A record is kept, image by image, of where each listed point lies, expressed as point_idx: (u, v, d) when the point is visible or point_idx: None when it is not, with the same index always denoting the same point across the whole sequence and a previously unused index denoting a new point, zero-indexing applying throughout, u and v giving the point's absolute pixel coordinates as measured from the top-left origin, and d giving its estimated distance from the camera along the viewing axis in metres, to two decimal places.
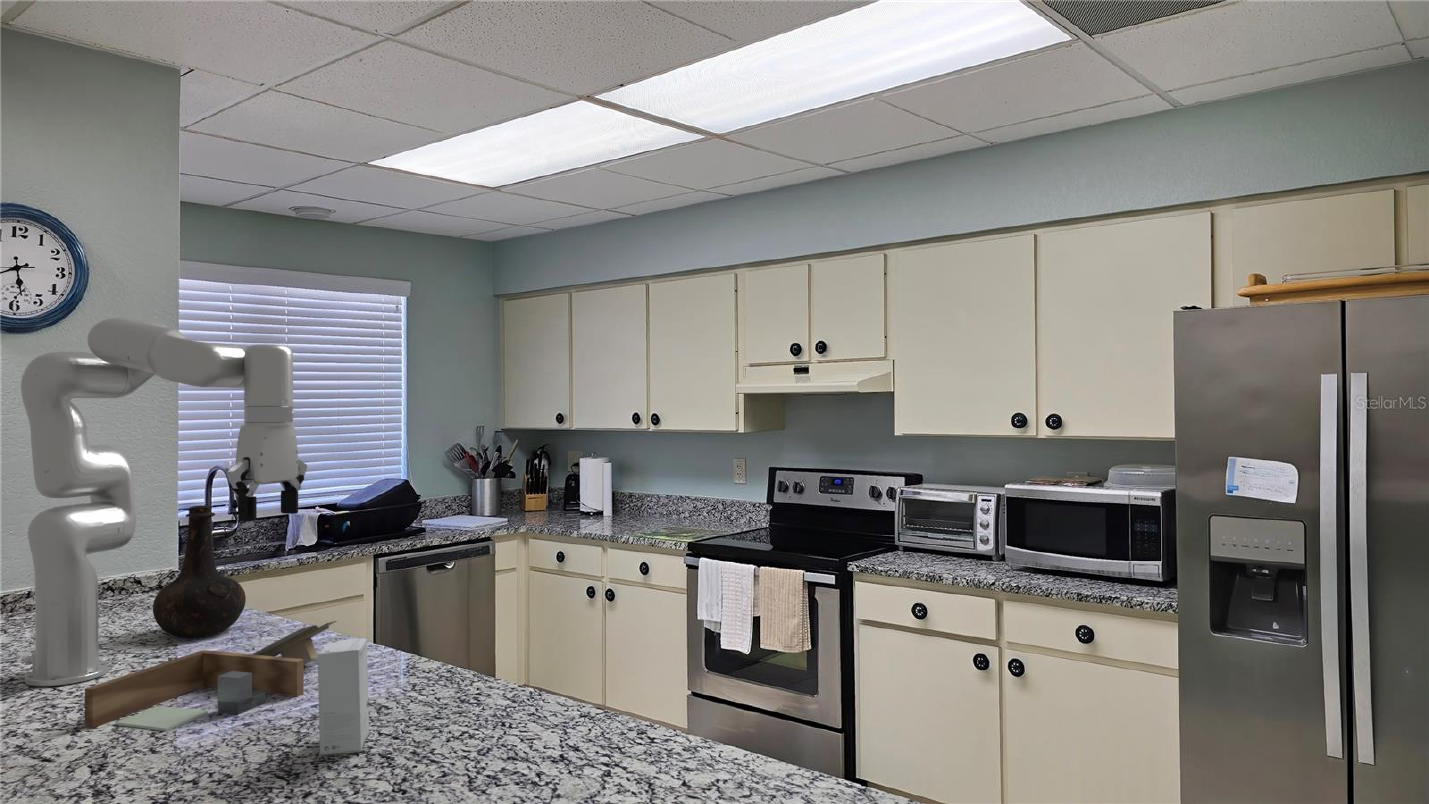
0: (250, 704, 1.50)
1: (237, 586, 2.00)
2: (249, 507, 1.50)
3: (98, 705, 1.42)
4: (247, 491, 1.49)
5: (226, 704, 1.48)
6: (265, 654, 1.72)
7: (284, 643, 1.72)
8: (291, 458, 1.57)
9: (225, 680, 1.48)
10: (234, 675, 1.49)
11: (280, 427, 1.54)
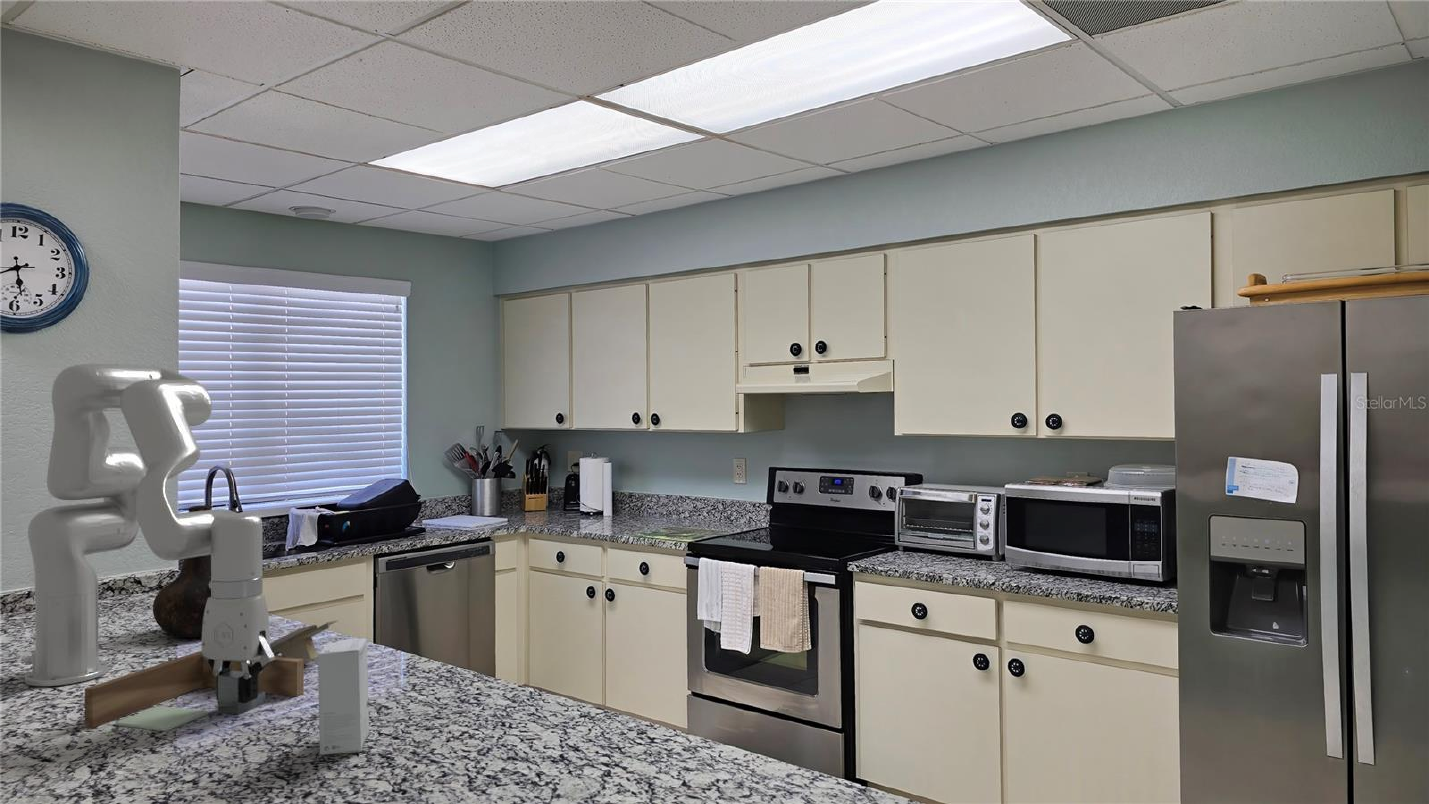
0: (250, 704, 1.50)
1: None
2: None
3: (98, 705, 1.42)
4: (260, 671, 1.50)
5: (226, 704, 1.48)
6: None
7: (284, 642, 1.73)
8: None
9: (225, 679, 1.48)
10: (234, 675, 1.49)
11: None
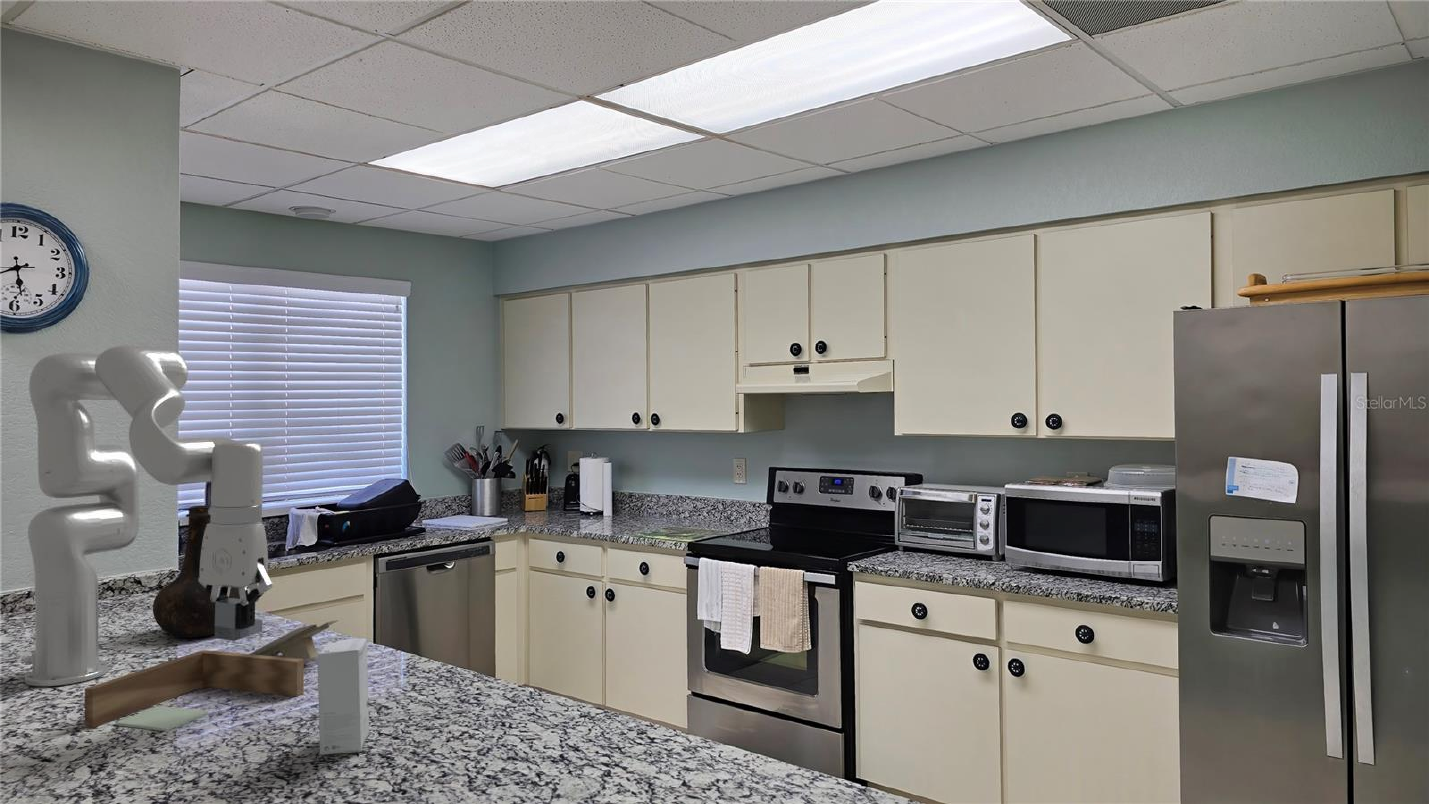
0: (247, 631, 1.50)
1: None
2: None
3: (98, 705, 1.42)
4: None
5: (223, 630, 1.48)
6: (266, 652, 1.73)
7: (284, 642, 1.73)
8: None
9: (222, 605, 1.48)
10: (232, 601, 1.49)
11: None
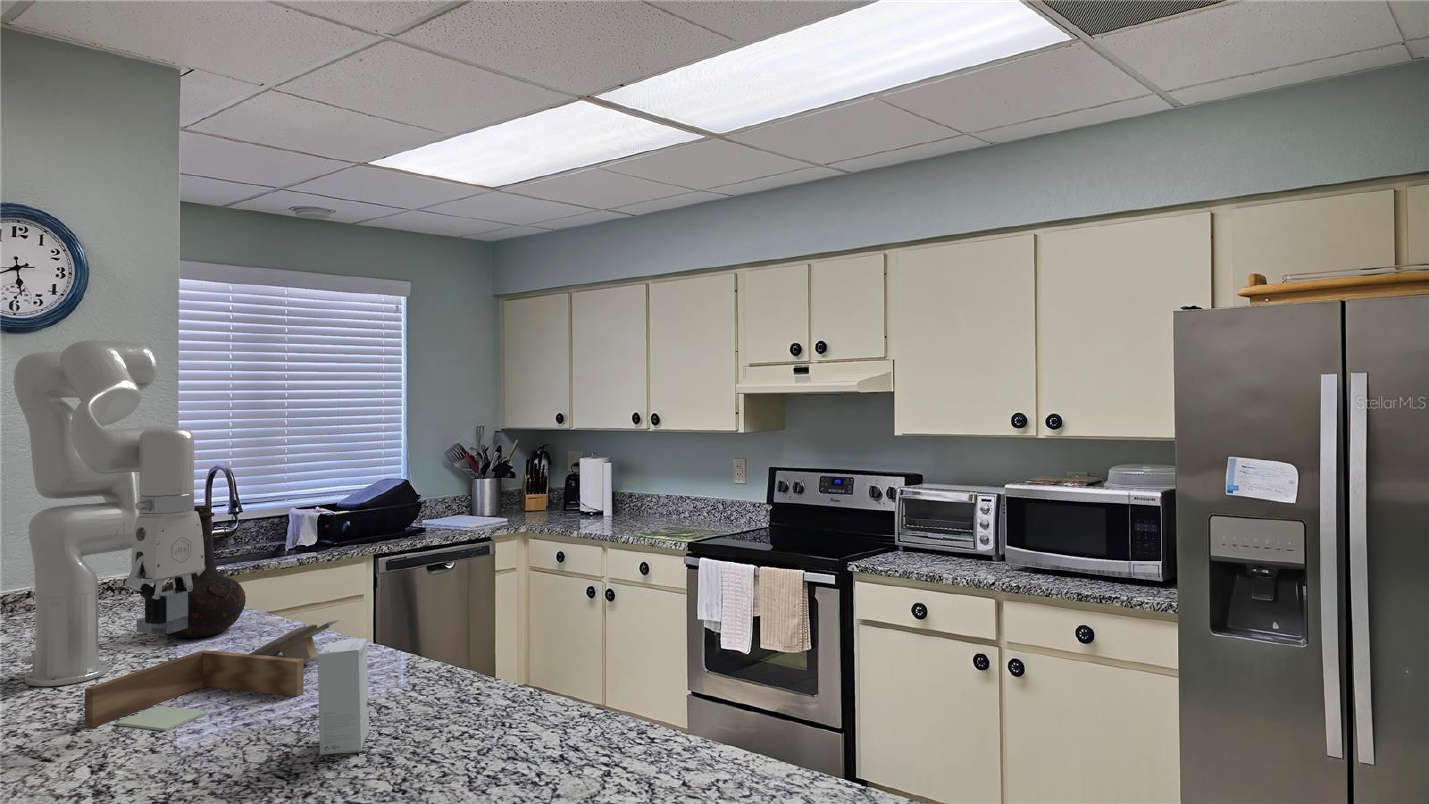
0: None
1: (237, 586, 2.00)
2: None
3: (98, 705, 1.42)
4: None
5: (176, 621, 1.44)
6: (266, 652, 1.73)
7: (284, 642, 1.73)
8: None
9: (174, 597, 1.44)
10: (173, 592, 1.45)
11: None
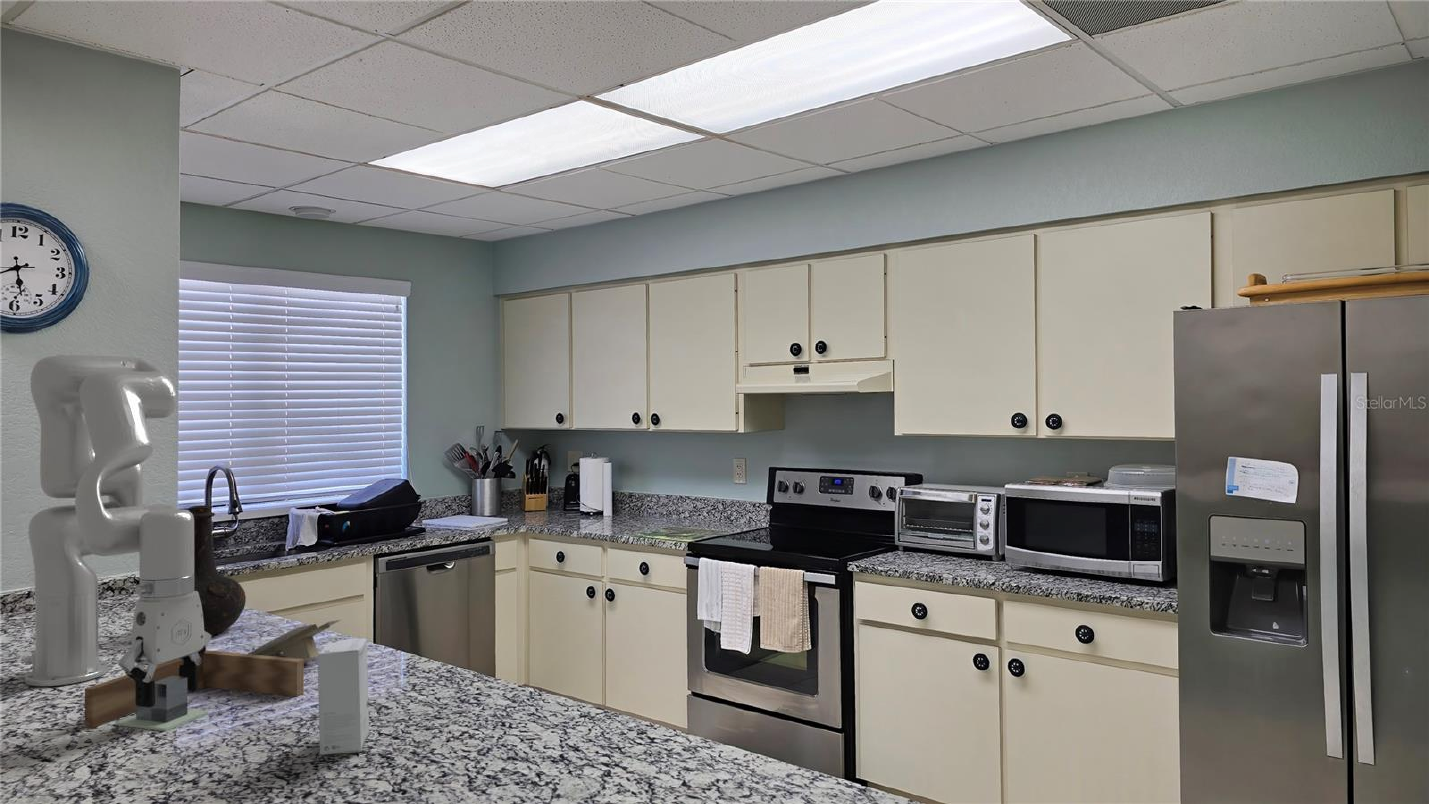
0: None
1: (237, 586, 2.00)
2: None
3: (98, 705, 1.42)
4: None
5: (175, 709, 1.44)
6: (267, 651, 1.74)
7: (285, 641, 1.74)
8: None
9: (174, 685, 1.44)
10: (173, 679, 1.45)
11: None
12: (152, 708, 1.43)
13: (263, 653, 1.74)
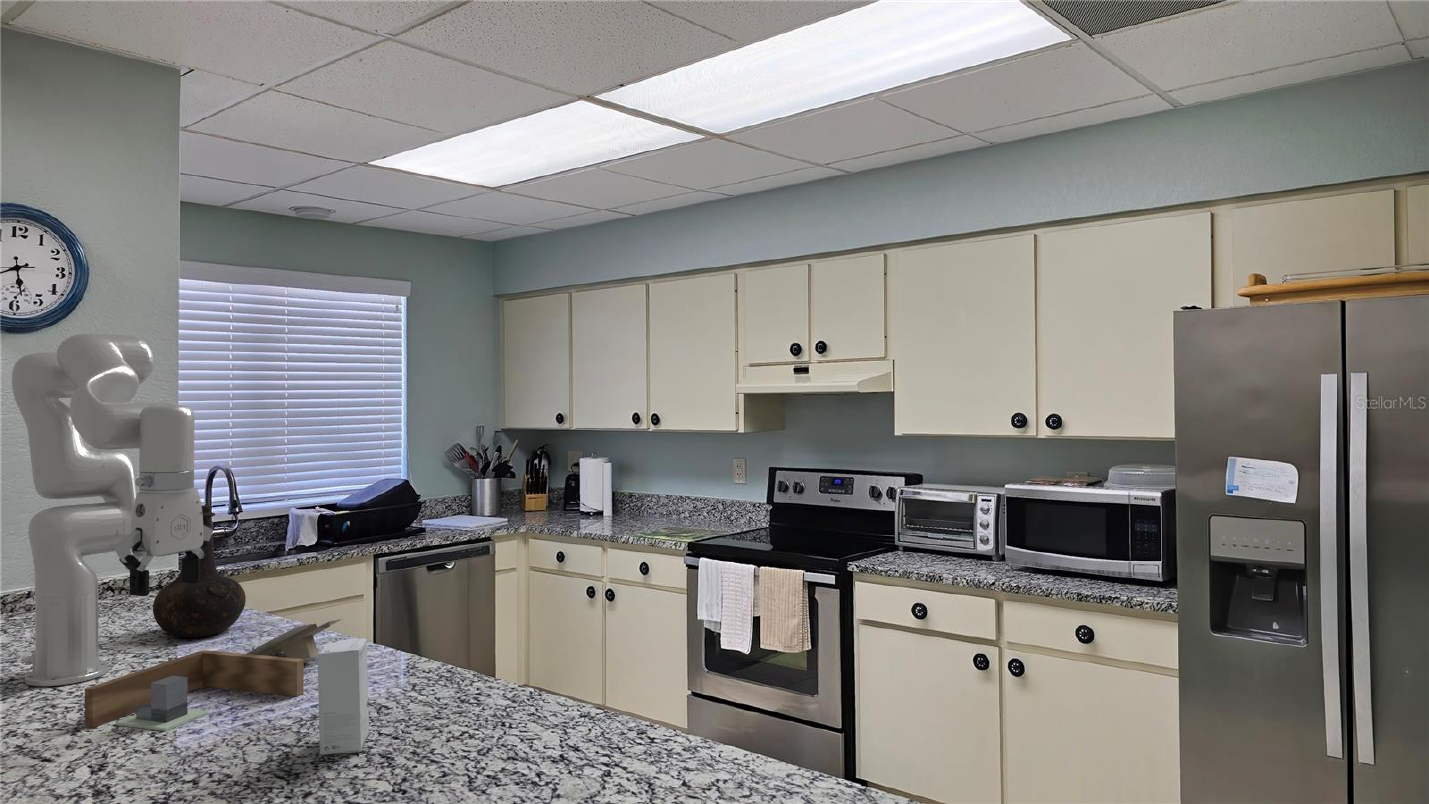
0: None
1: (237, 586, 2.00)
2: None
3: (98, 705, 1.42)
4: None
5: (175, 709, 1.44)
6: (267, 651, 1.74)
7: (285, 640, 1.74)
8: None
9: (174, 685, 1.44)
10: (173, 679, 1.45)
11: None
12: (152, 708, 1.43)
13: (264, 652, 1.74)
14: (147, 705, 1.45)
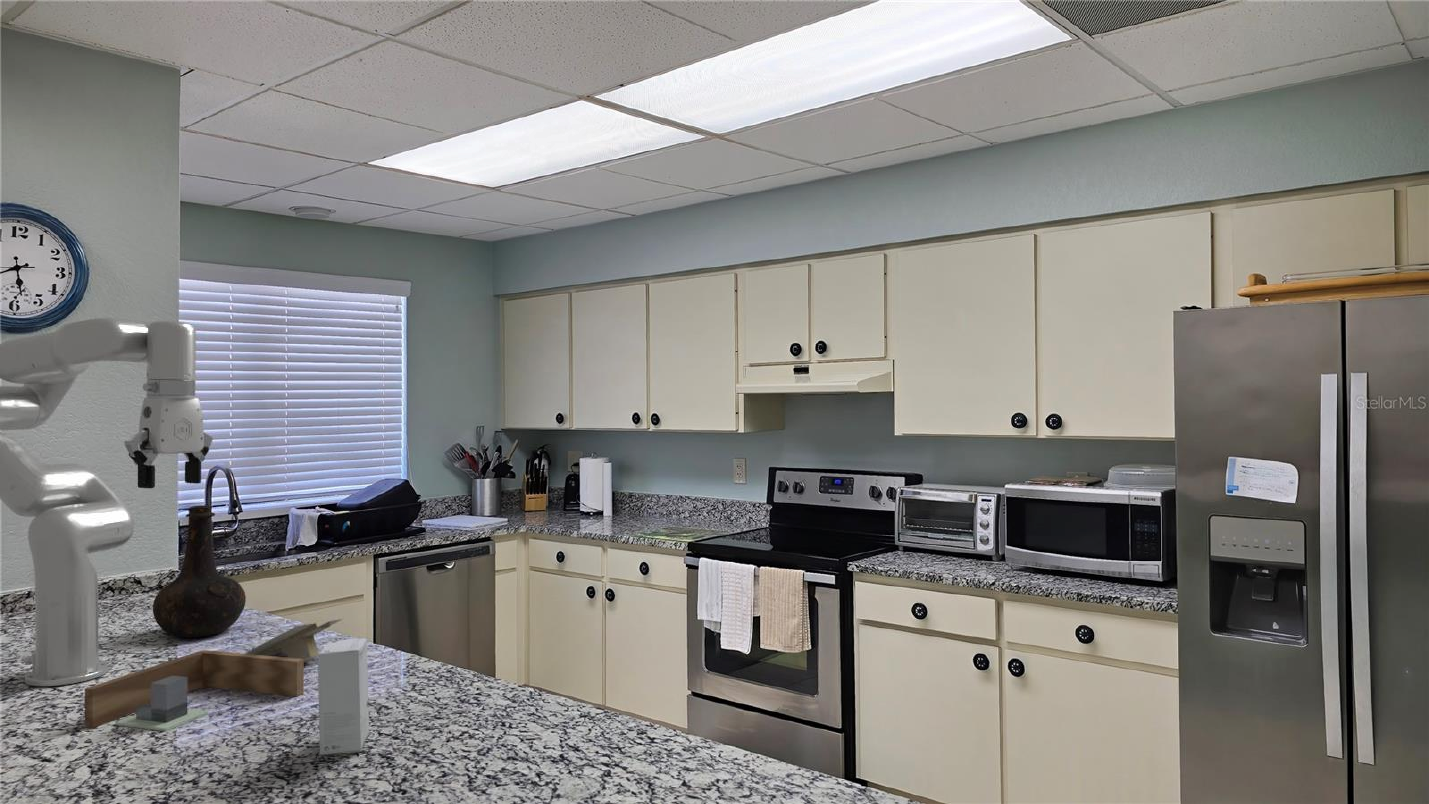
0: None
1: (237, 586, 2.00)
2: None
3: (98, 705, 1.42)
4: (193, 455, 1.69)
5: (175, 709, 1.44)
6: (268, 650, 1.75)
7: (285, 640, 1.74)
8: None
9: (174, 685, 1.44)
10: (173, 679, 1.45)
11: None
12: (152, 708, 1.43)
13: (264, 652, 1.75)
14: (147, 705, 1.45)
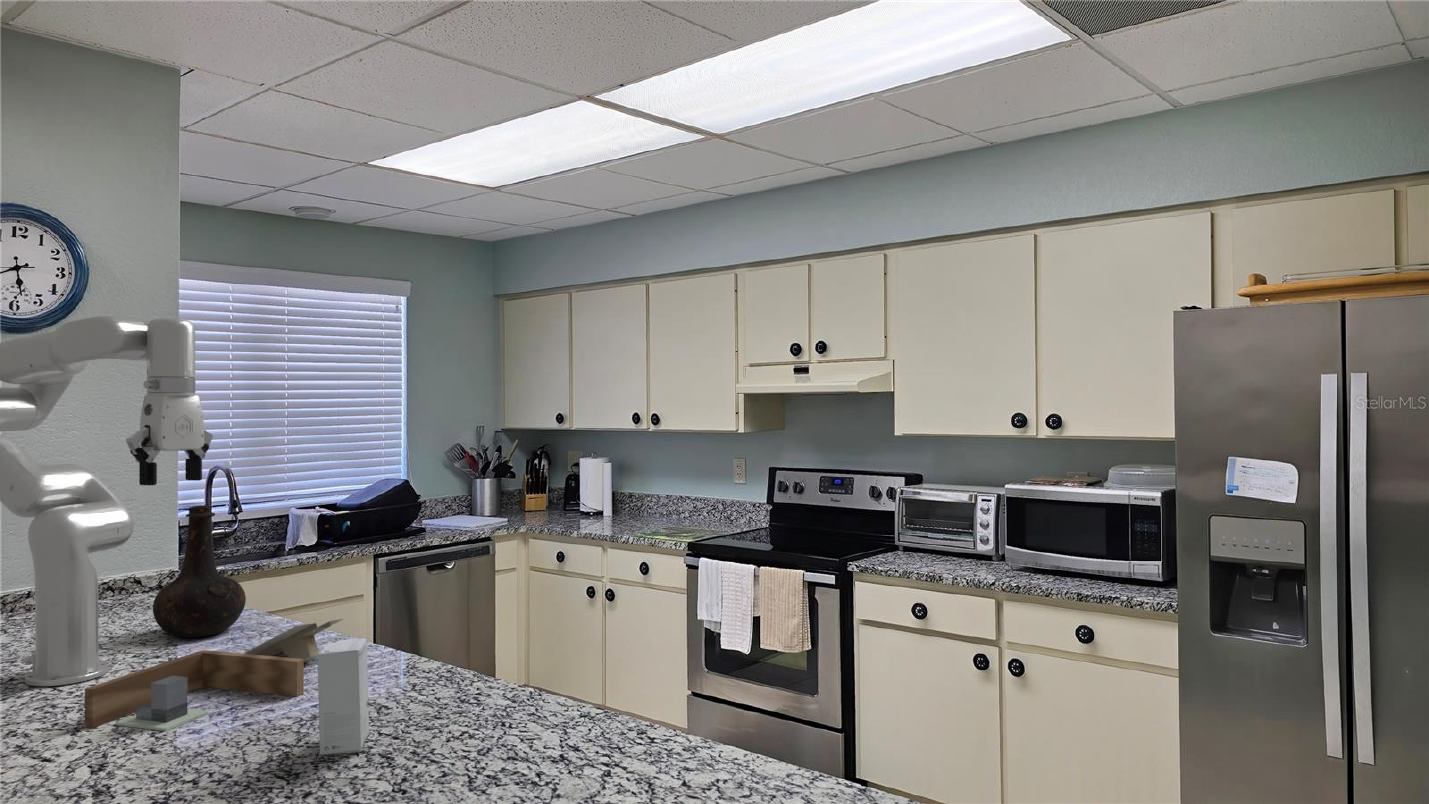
0: None
1: (237, 586, 2.00)
2: None
3: (98, 705, 1.42)
4: None
5: (175, 709, 1.44)
6: (268, 649, 1.75)
7: (286, 639, 1.75)
8: None
9: (174, 685, 1.44)
10: (173, 679, 1.45)
11: None
12: (152, 708, 1.43)
13: (265, 651, 1.75)
14: (147, 705, 1.45)
